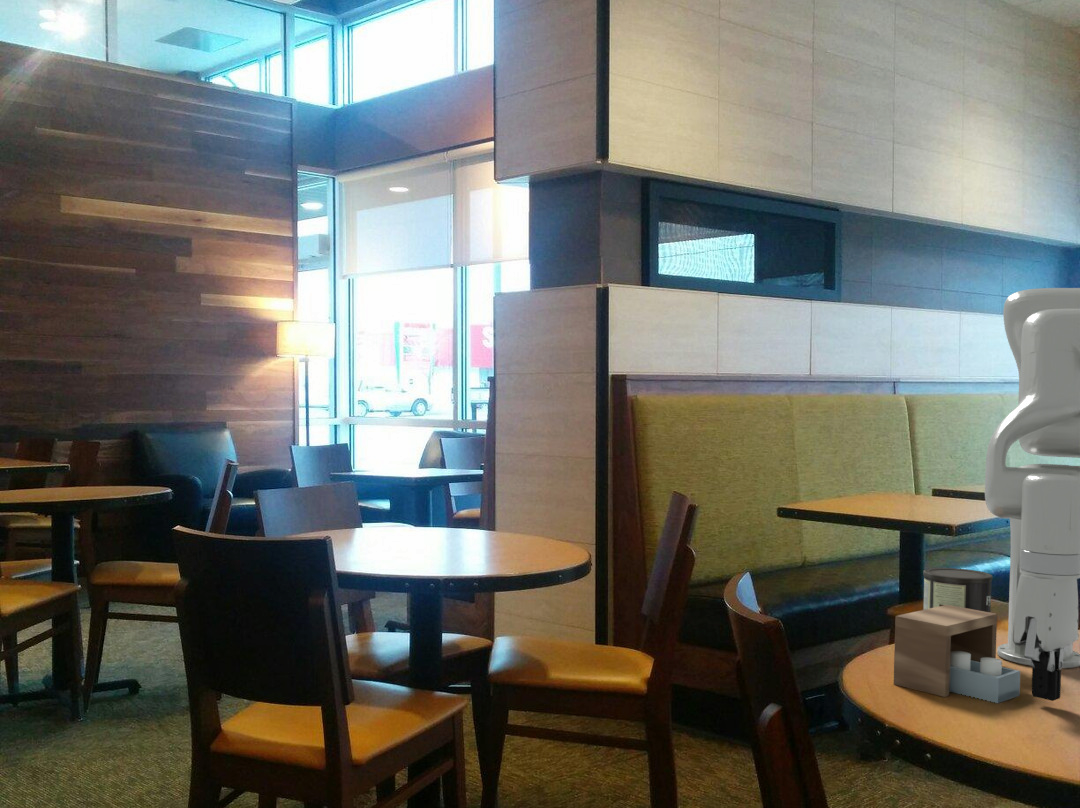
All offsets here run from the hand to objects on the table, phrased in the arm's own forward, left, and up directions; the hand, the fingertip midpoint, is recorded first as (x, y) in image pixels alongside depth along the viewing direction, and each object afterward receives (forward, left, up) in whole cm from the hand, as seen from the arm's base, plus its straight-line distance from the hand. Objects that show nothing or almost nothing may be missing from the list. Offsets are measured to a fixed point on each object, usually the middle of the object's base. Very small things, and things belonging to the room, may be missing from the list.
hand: (1045, 697), depth 147 cm
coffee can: (-14, -21, -2) cm, 25 cm away
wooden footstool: (0, -15, -1) cm, 15 cm away
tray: (+1, -10, -1) cm, 10 cm away
